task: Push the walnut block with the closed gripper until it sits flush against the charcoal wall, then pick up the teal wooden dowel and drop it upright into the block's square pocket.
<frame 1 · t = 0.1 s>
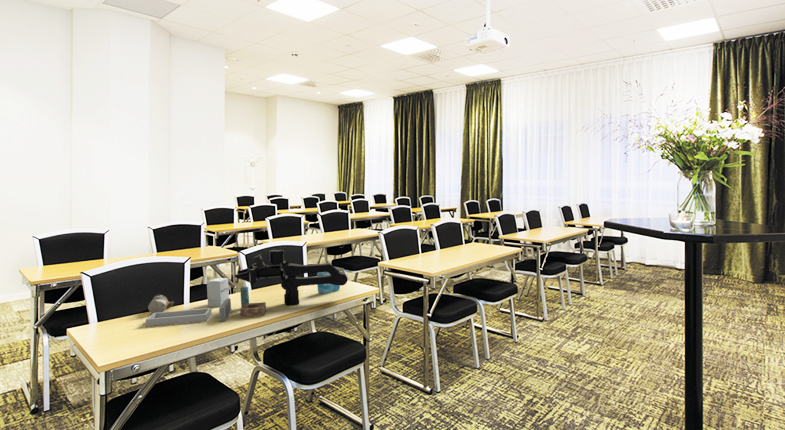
hand: (236, 274, 200), 17 cm above the table, fingers open, 9 cm apart
pocket block: (253, 314, 191), on the table
dowel: (245, 308, 201), on the table
backstop wall: (225, 316, 188), on the table
data package: (329, 292, 228), on the table
ceramic sculpture: (159, 311, 200), on the table
supplement box: (218, 304, 209), on the table
rectangular open frame: (180, 320, 185), on the table
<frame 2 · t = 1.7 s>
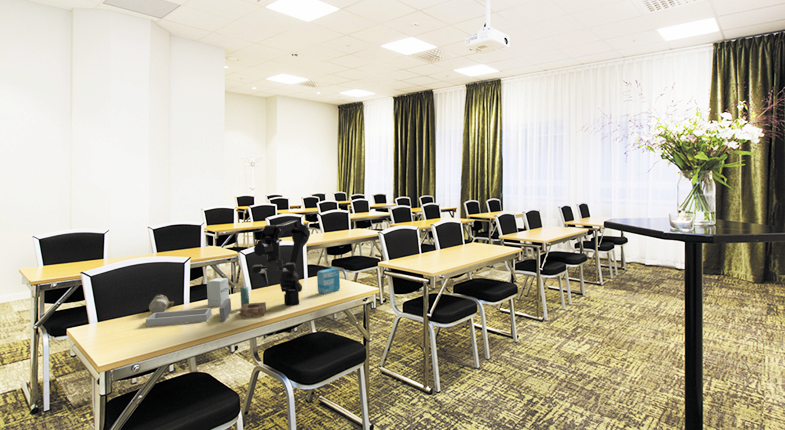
hand: (274, 286, 192), 12 cm above the table, fingers open, 6 cm apart
nothing on the table moved.
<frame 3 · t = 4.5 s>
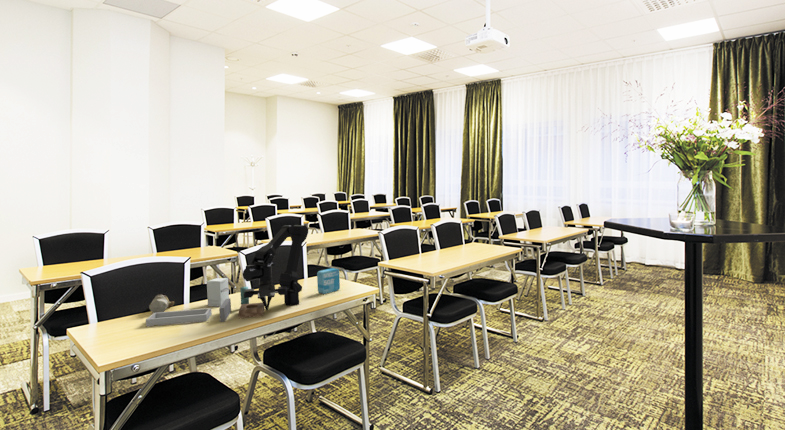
hand: (267, 310, 192), 1 cm above the table, fingers closed
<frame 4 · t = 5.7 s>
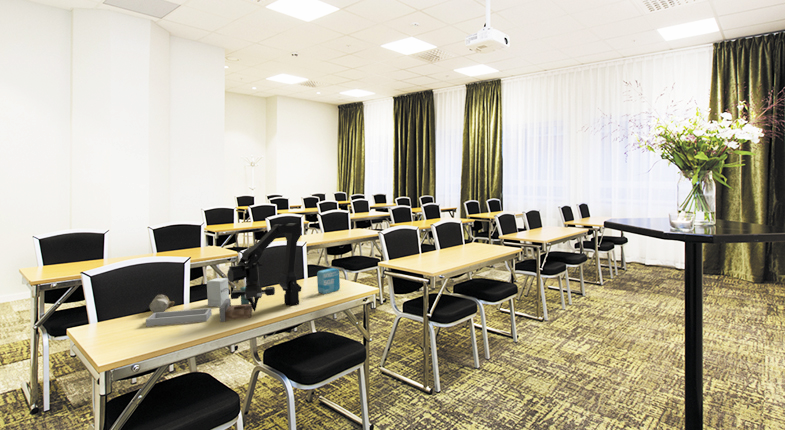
hand: (254, 311, 191), 1 cm above the table, fingers closed
pocket block: (239, 316, 189), on the table, touching backstop wall, gripper
everything else where it was.
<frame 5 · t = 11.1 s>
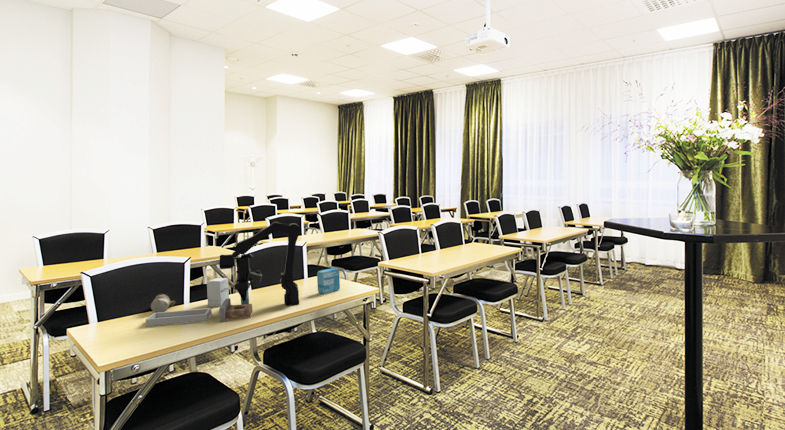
hand: (244, 299, 200), 4 cm above the table, fingers closed on dowel, 4 cm apart
pocket block: (239, 316, 189), on the table
dowel: (245, 308, 201), on the table, touching gripper
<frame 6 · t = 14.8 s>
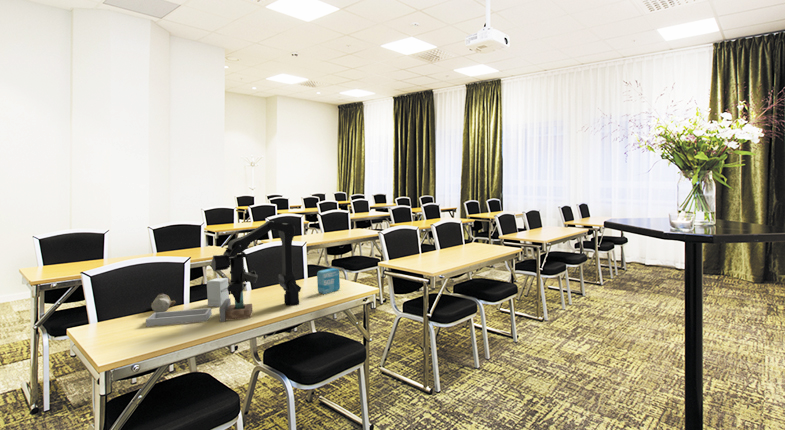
hand: (239, 301, 189), 6 cm above the table, fingers closed on dowel, 4 cm apart
dowel: (239, 310, 190), point 2 cm above the table, touching gripper
when the fingers open (6 cm above the table, at t = 15.0 s): dowel drops 2 cm, resting on pocket block.
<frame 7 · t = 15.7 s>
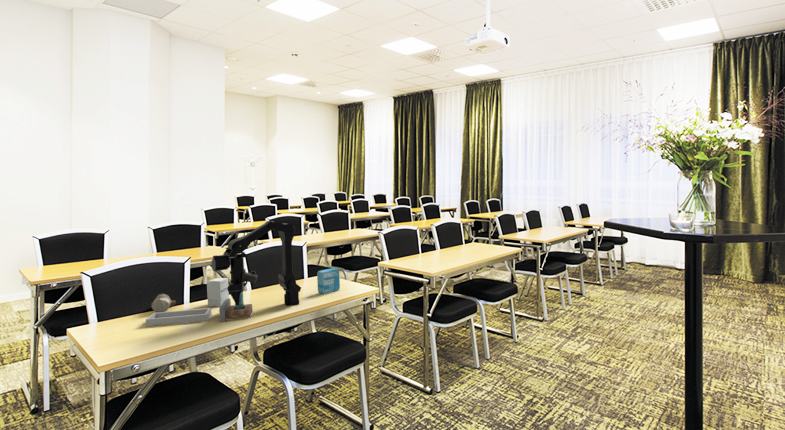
hand: (239, 302, 189), 6 cm above the table, fingers open, 9 cm apart
pocket block: (239, 316, 189), on the table, touching dowel
dowel: (239, 314, 189), point 1 cm above the table, touching pocket block
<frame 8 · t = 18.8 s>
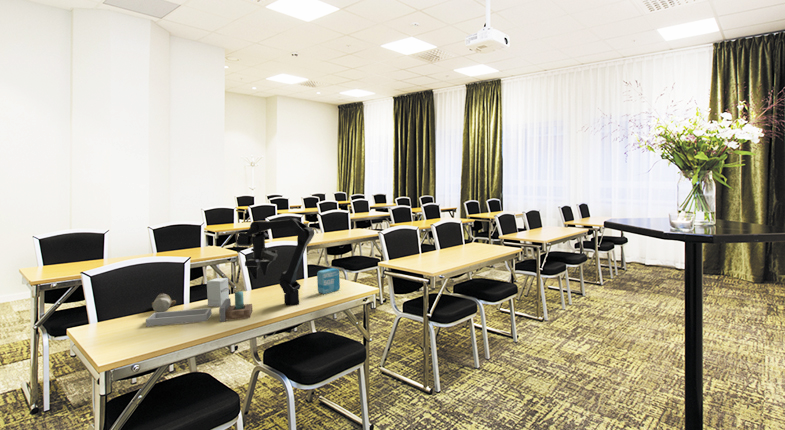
hand: (260, 277, 208), 13 cm above the table, fingers open, 9 cm apart
at the end: pocket block 0.7 cm from the target spot, on the table; dowel 0.3 cm off-centre on the pocket block, point 1.0 cm above the pocket block's base; dowel tilted 0° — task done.
